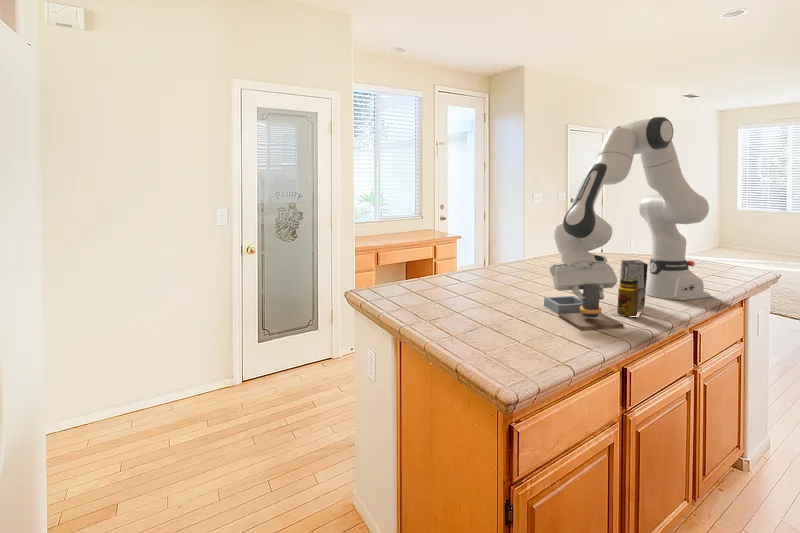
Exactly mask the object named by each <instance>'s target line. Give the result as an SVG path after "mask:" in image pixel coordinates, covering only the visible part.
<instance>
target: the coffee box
mask: <svg viewBox="0 0 800 533" xmlns="http://www.w3.org/2000/svg"><path fill="white" fill-rule="evenodd" d="M648 266H649V264H648V263H646V262H643V261H642V260H638V259H633V260H631V259H627V260H620V275H619V276H620V277H619V281H620V280H621V279H635V280H637V281H638V289H639V295H638V310H644V309H645V303H646V294H645V292H646V287H647V280H648V279H647V277H648Z"/></svg>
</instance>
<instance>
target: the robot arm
mask: <svg viewBox="0 0 800 533" xmlns="http://www.w3.org/2000/svg"><path fill="white" fill-rule="evenodd" d="M673 137H674V127H673V124H672V122H671V121H670V120H669V119H668V118H666V117H664V116H655V117H652V118H646V119H645V118H644V119H639V120H635V121H633V122H630V123H627V124H625V125H622V126H617V127H614V128H613V129H611V130H609V131H608V133H607V134H606V136H605V138H604V139H603V141H602V144H601V145H600V149H599V151H598V154H597V156H596V160H595V162H594V164H593V165H592V166H590V167H589V169H588V170H587V172H586V173H585V174H584V178H583V179H582V183H581V185H580V187H579V189H578V191H577V194H576V196H575V199H574V201H573V202H572V205H571V206H570V207H569V209H568V210H567V212H566V213H565V215H564V218H563V221H562V222H560V223H559V224H558V225H557V226H556V227H555V229H554V233H553V234H554V235H553V236H554V241H555V242H554V243H555V245H556V249H557V250H558V252H559V254H560V255H561V262H562V263H561V264H552V265H551V266H550V267H549V272H550V274H551V276H552V282H553V286H554V288H555V289H556V290H557V291H558V292H559V291H560V292H561V291H563V292H564V291H571V292H572V293H573V294H574V296H575V297H577V298H579V301H584V300H585V299H586V297H585V294H583V292H581V290H583V286H584V284H592V283H596V284H599V285H600V296H599V301H600V300H604V299H605V294H604V290H605V289H612V288H614V286H616V284H617V282H618V277H617V275H616V273H615V272H614V270H613V268H612V267H611V265H610V264H608V263H607V262H608V259H607V257H605V256H603V255H599V254H595V253H592V252H591V251H594V250H596V249H598V248H600V247H602V246H605V245H606V244H607V243H608V242H609V241H610V240H611V238H612V236H613V228H612V226H611V224H610V223H609V222H607V220H605V219H604V218H602V217H601V216H599V215H598V214H597V213H596V210H595V208H594V207H595V204H596V202H597V200H598V196H599V194H600V192H601V190H602V187H603V186H605V185H606V186H607V185H608V186H611V185H617V184H619V183H621V182H623V181H625V179H626V178H627V177H628V176H629V173H630V170H631V168H632V164H633V160H634V156H635V155H639V154H640V159H641V163H642V168H643V171H644V174H645V178H646V183H647V185H648V186H649V187H650V188H651V189H653V190H654V191H656V192H657V193H656V194H651V195H647V196H645V197H644V198H643V199H642V200H641V201H640V204H639V214H640V216H641V217H642V219H643V220H644V221H645V222H646V223H647V225H648V228H649V230H650V234H651V238H652V239H651V240H652V247H651V248H652V249H651V258H650V259H649V275H648V279H647V280H648V282H647V283H646V292H645V295H647V296H651V297H654V298H659V299H667V300H677V301H689V300H697V299H704V298H710V297H711V295H712V294H711V293H710V292H708V291H705V287H704V281H703V279H701V277H699V276H697V275H696V274H695V273H694V272H692V271H691V270H690V268H689V267H692V268H693V267H694V266H695V265H696V262H695V261H693V260H687V259H686V252H687V238H686V237H685V236H684V235H683V234H681V233H680V232H679V230H678V228H677V224H678V225H690V224H691V225H692V224H698V223H701V222H703V221H704V220H705V219H706V218H707V217H708V214H709V212H710V206H709V205H710V204H709V202H708V200H707V199H706V197H703V196H701V195H700V194H699V193H697V192H696V191H695V190H694V189H693V188H692V187H691V186H690V184H689V183H688V182H687V180H686V179H685V177H684V175H683V172H682V170H681V169H682V168H681V166H680V162H679V158H678V154H677V151H676V148H675V145H674V142H673V140H672V139H673Z"/></svg>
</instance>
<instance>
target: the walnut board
mask: <svg viewBox="0 0 800 533" xmlns="http://www.w3.org/2000/svg"><path fill="white" fill-rule="evenodd" d="M558 317H559V318H560V319H561V320H562V321H564V322H566V323H568V324H570V325H571V326H573V327H574V328H576V329H578V330H579V331H585V330H586V331H587V330H588V331H589V330H600V329H601V330H602V329H603V330H604V328H606V329H618V328H617V327H622V328H624V326H625V325H624V323H622V322H620V321H618V320H616V319H614V318H612V317H610V316H608V315H606V314H604V313H602V312H601V313H600V314H598V317H586V316H583V315H582V313H567V314H558Z"/></svg>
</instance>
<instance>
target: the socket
mask: <svg viewBox="0 0 800 533" xmlns="http://www.w3.org/2000/svg"><path fill="white" fill-rule="evenodd" d="M543 306H544V307H546V308H548V309H550V310H551V311H552V312H554V313H556V314H557V315H559V314H569V313H582V312H580V306H583V301H579V298H578V297H577V296H576V295H568V296H567V295H566V296H550V297H549V296H548V297H544V299H543Z"/></svg>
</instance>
